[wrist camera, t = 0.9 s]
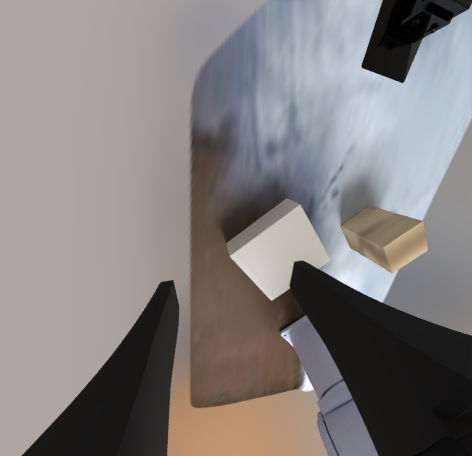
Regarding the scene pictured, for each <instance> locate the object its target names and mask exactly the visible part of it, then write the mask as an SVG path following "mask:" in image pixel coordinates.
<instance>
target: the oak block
mask: <svg viewBox="0 0 472 456" xmlns="http://www.w3.org/2000/svg"><path fill="white" fill-rule="evenodd" d="M341 228H342V231H343V233H344V235H345V237H346V239H347V241H348V244H349V246H350V248H351V249H353V250H355V251H356V252H358V253H360V254H361V255H363V256H364V257H366V258H368V259H369V260H371V261H373V262H374V263H376V264H378V265H379V266H381V267H382V268H384V269H386V270H387V271H389V272H391V273H394V272H395V271H397V270H398V269H400V268H401V267H403V266H404V265H406V264H407V263H409V262H411V261H412V260H414V259H415V258H417V257H418V256H420V255H421V254H423V253H424V252H426V251H427V250H428V248H427V242H426V237H425V231H424V225H423V221H421V220H417V219H414V218H410V217H407V216H403V215H400V214H396V213H393V212H389V211H386V210H383V209H379V208H376V207H372V206H368V207H367V208H365V209H364V210H363V211H361V212H360V213H358V214H357V215H355V216H354V217H353V218H351V219H350V220H348V221H347V222H345V223H344V224H343V225H341Z"/></svg>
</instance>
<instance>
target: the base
mask: <svg viewBox="0 0 472 456" xmlns="http://www.w3.org/2000/svg"><path fill="white" fill-rule="evenodd" d="M226 244H227V248H228V252H229V255H230V257H231V258H232V259H233V260H234V261H235V262H236V264H237V265H238V266H239V267H240V268H241V269H242V270H243V271H244V272H245V273H246V274H247V275H248V276H249V277H250V279H251V280H252V281H253V282H254V283H255V284H256V285H257V286H258V287H259V288H260V289H261V290H262V291H263V292H264V294H265V295H266V296H267V297H268V298H269V299H270V300H271V301H272V300H274V299H275V298H277V297H278V296H280V295H281V294H283V293H284V292H286V291H287V290H288V289H290V286H289V285H290V280H291V275H292V270H293V265H294V262H295V261H302V260H303V261H305V262H307V263H309V264H311V265H312V266H314V267H316V268H318V269H319V268H321V267H322V266H324V265H325V264H327V263H328V262H329V261H331V259H330V257H329V255H328V254H327V252H326V250H325V248H324V246H323V245H322V243H321V241H320V239H319V237H318V236H317V234H316V232H315V230H314V228H313V227H312V225H311V223H310V221H309V219H308V218H307V216H306V214H305V212H304V210H303V209H302V207H301V205H300V204H298V203H296V202H294V201H292V200H290V199H288V198H286V199H285V200H283V201H282V202H281V203H279V204H278V205H277V206H275V207H274V208H273V209H271V210H270V211H269V212H267V213H266V214H265V215H263V216H262V217H261V218H259V219H258V220H257V221H255V222H254V223H253V224H251V225H250V226H249V227H247V228H246V229H245V230H243V231H242V232H241V233H239V234H238V235H237V236H235V237H234V238H233V239H231V240H230V241H229V242H227V243H226Z"/></svg>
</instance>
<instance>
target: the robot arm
mask: <svg viewBox="0 0 472 456" xmlns="http://www.w3.org/2000/svg"><path fill="white" fill-rule="evenodd" d="M289 286H290V288H291V290H292V293H293V295H294V297H295V299H296V300H297V302H298V304H299V305H300V307H301V308H302V310H303V312H304V313H305V316H303V317H302V318H300V319H299V320H297V321H296V322H294V323H293V324H291V325H290V326H288V327H287V328H285V329H284V330H282V331H281V332H280V334H281V336H282V337H283V338H285V339H286V340H287V341H288V342H289V343H290V344H291V345H292V346H293V347H294V348H295V351H296V353H297V355H298V357H299V359H300V361H301V363H302V365H303V367H304V369H305V371H306V374H307V376H308V378H309V380H310V382H311V384H312V386H313V388H314V390H315V392H316V394H317V396H318V398H319V401H318V402H317V404H318V406H319V408H320V410H321V411H320V412H318V415H317V416H318V422H317V424H318V429H319V432H320V435H321V438H322V441H323V444H324V446H325V448H326V451H327V453H328V455H329V456H472V336H471V335H467V334H464V333H461V332H457V331H454V330H451V329H449V328H446V327H443V326H440V325H437V324H434V323H431V322H428V321H426V320H423V319H420V318H417V317H415V316H413V315H410V314H407V313H405V312H403V311H400V310H397V309H395V308H393V307H390V306H388V305H386V304H384V303H382V302H379V301H377V300H375V299H373V298H371V297H369V296H367V295H365V294H363V293H361V292H359V291H357V290H355V289H353V288H351V287H349V286H347V285H345V284H344V283H342V282H340V281H338V280H337V279H335V278H333V277H331V276H330V275H328V274H326V273H324V272H323V271H321V270H319V269H318V268H316V267H314V266H312V265H311V264H309V263H307V262H305V261H303V260H302V261H295V262H294V265H293V270H292V275H291V280H290V285H289ZM178 322H179V304H178V299H177V295H176V290H175V285H174V281H173V280H171V281H165V282H161V283H160V284H159V286H158V288H157V289H156V291H155V293H154V295H153V296H152V298H151V300H150V301H149V303H148V304H147V306H146V308H145V309H144V311H143V312H142V314H141V315H140V317H139V318H138V320H137V321H136V323H135V324H134V326H133V327H132V329H131V330H130V331H129V333H128V334H127V335H126V337H125V338H124V340H123V341H122V342H121V344H120V345H119V346H118V348H117V349H116V350H115V351H114V353H113V354H112V355H111V357H110V358H109V359H108V360H107V362H106V363H105V364H104V365H103V366H102V368H101V369H100V370H99V371H98V373H97V374H96V375H95V376H94V377H93V378H92V380H91V381H90V382H89V383H88V384H87V386H86V387H85V388H84V389H83V390H82V391H81V392H80V394H79V395H78V396H77V397H76V398H75V399H74V400H73V402H72V403H71V404H70V405H69V406H68V407H67V408H66V409H65V410H64V411H63V413H62V414H61V415H60V416H59V417H58V418H57V419H56V420H55V421H54V422H53V423H52V424H51V425H50V427H48V428H47V429H46V431H45V432H44V433H43V434H42V435H41V436H40V437H39V438H38V439H37V440H36V441H35V442H34V443H33V444H32V445H31V447H30V448H29V449H28V450H27V451H26V452H25V453H24V454H23V455H22V456H167V444H168V424H169V405H170V387H171V378H172V370H173V363H174V355H175V347H176V340H177V333H178V325H179V323H178Z"/></svg>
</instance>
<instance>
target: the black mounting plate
mask: <svg viewBox="0 0 472 456" xmlns="http://www.w3.org/2000/svg"><path fill="white" fill-rule="evenodd" d="M471 4H472V0H383V2H382V5H381V8H380V11H379V14H378V17H377V20H376V23H375V26H374V29H373V32H372V35H371V38H370V41H369V44H368V47H367V51H366V54H365V57H364V60H363V63H362V68H363V69H366V70H369V71H372V72H374V73H377V74H380V75H382V76H385V77H388V78H390V79H393V80H396V81H398V82H401V83H403V82H404V81H405V79H406V76H407V74H408V72H409V69H410V67H411V65H412V62H413V60H414V58H415V55H416V53H417V50H418V48H419V46H420V43H421V41H422V39H423V38H424V37H426V36H428V35H430V34H432V33H434V32H435V31H437V30H439V29H441V28H442V27H444V26H446V25H448V24H450V22H451V19H452V18H454V17H455V16H457V15H459V14H461V13H463V12H464V11H466V10H468V9H469V8H470V6H471Z"/></svg>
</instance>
